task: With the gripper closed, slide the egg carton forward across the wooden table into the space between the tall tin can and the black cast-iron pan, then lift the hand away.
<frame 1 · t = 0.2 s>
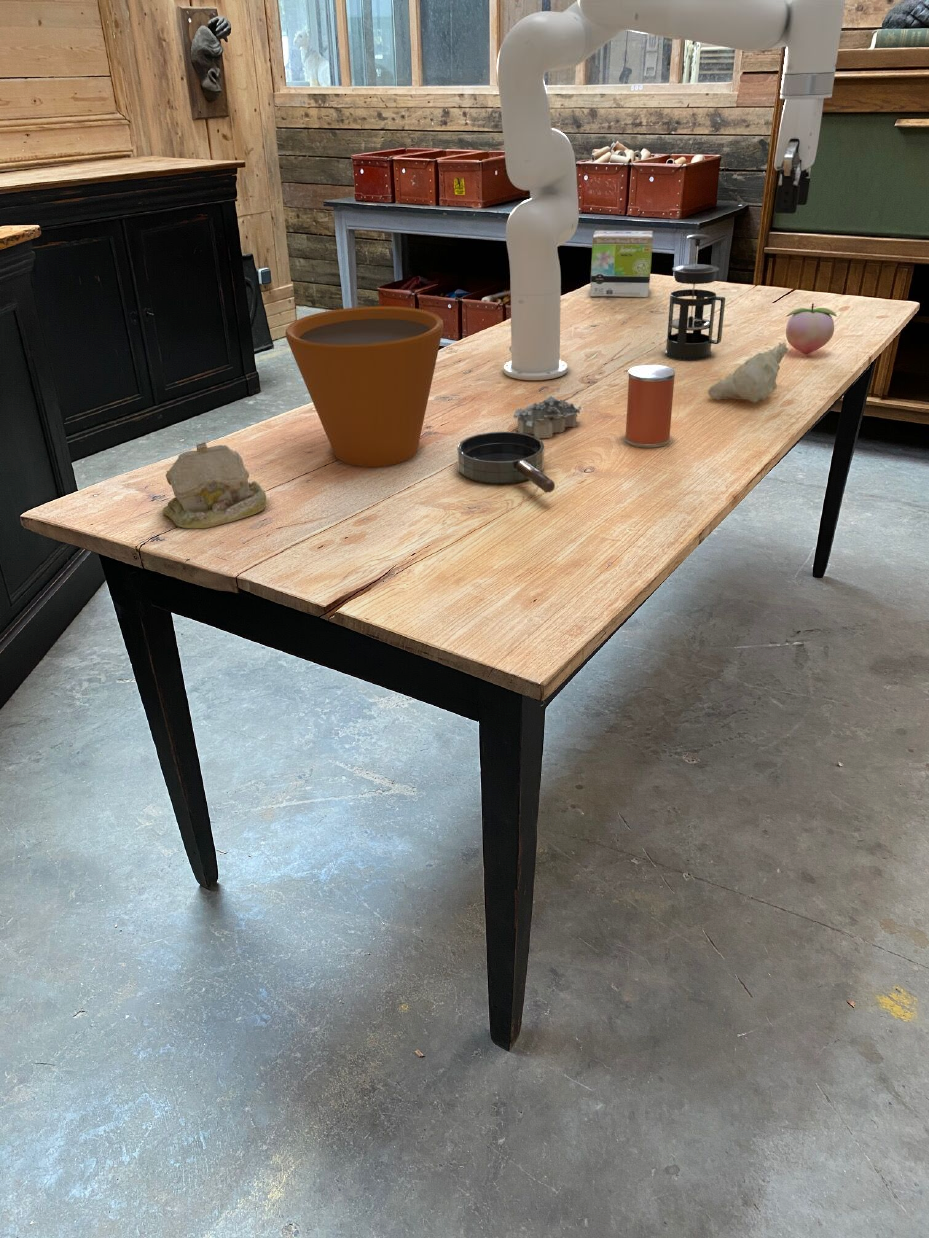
hand: (791, 208, 152), 31 cm above the table, tool pointing down, fingers open, 9 cm apart
holed limestone rock: (750, 396, 169), on the table
tin can: (647, 440, 151), on the table
ceramic model: (215, 511, 134), on the table
decorative fruit: (804, 354, 190), on the table
egg carton: (546, 429, 158), on the table
french press: (690, 355, 193), on the table
tea box: (619, 294, 244), on the table
flower pot: (375, 451, 152), on the table
black pan: (501, 468, 143), on the table
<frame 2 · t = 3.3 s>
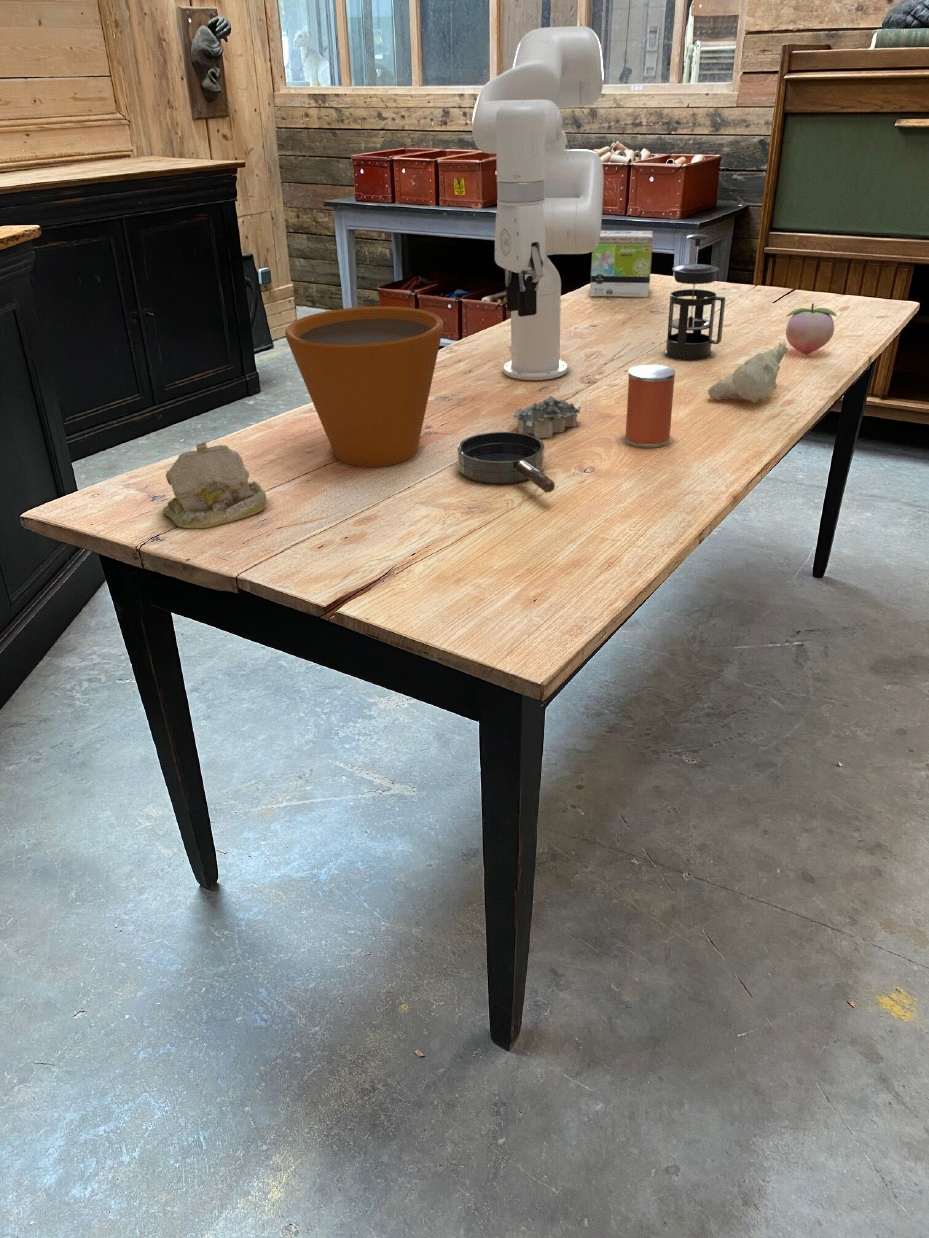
hand: (521, 311, 157), 17 cm above the table, tool pointing down, fingers open, 3 cm apart
nothing on the table moved.
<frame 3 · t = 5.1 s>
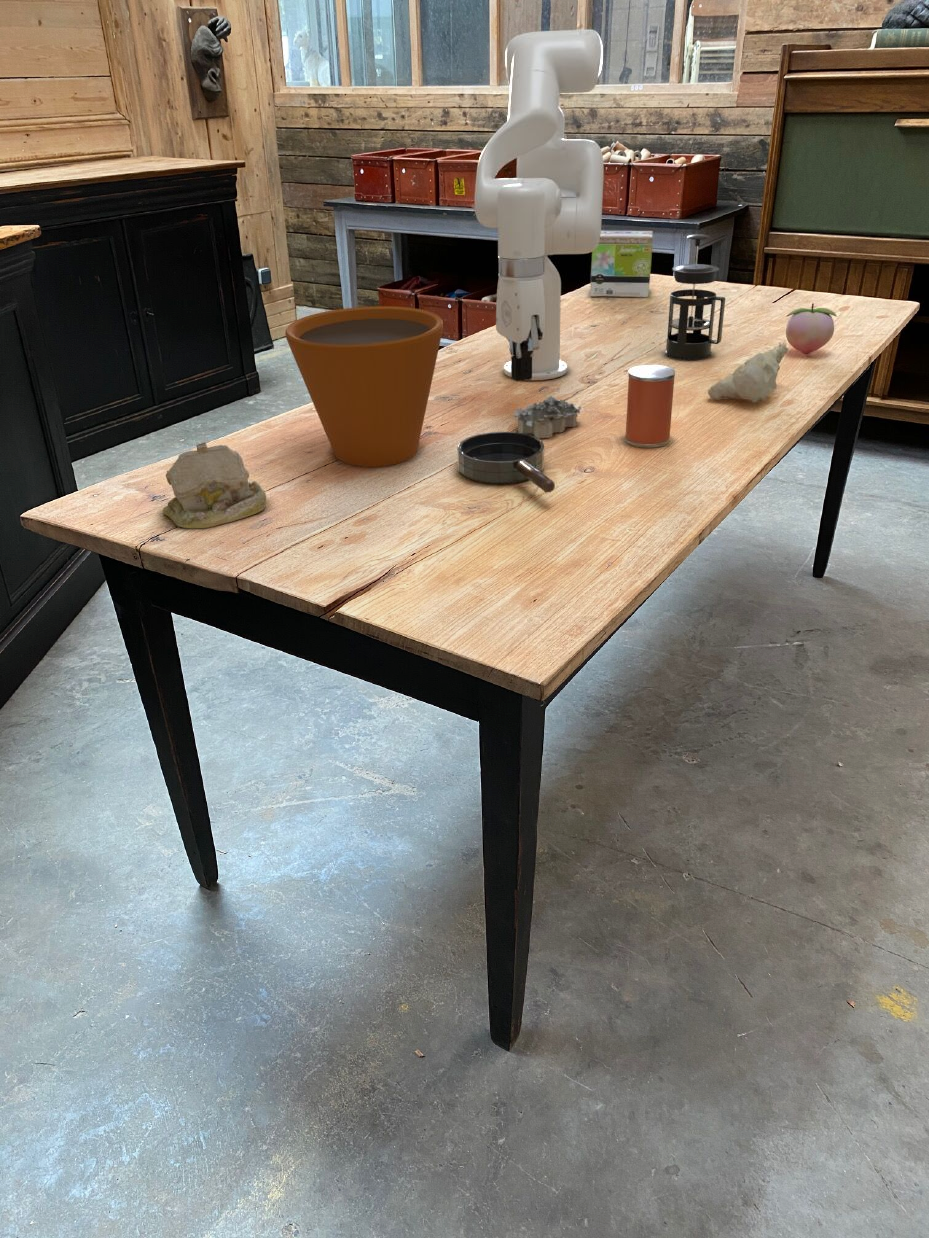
hand: (521, 379, 162), 6 cm above the table, tool pointing down, fingers closed
nothing on the table moved.
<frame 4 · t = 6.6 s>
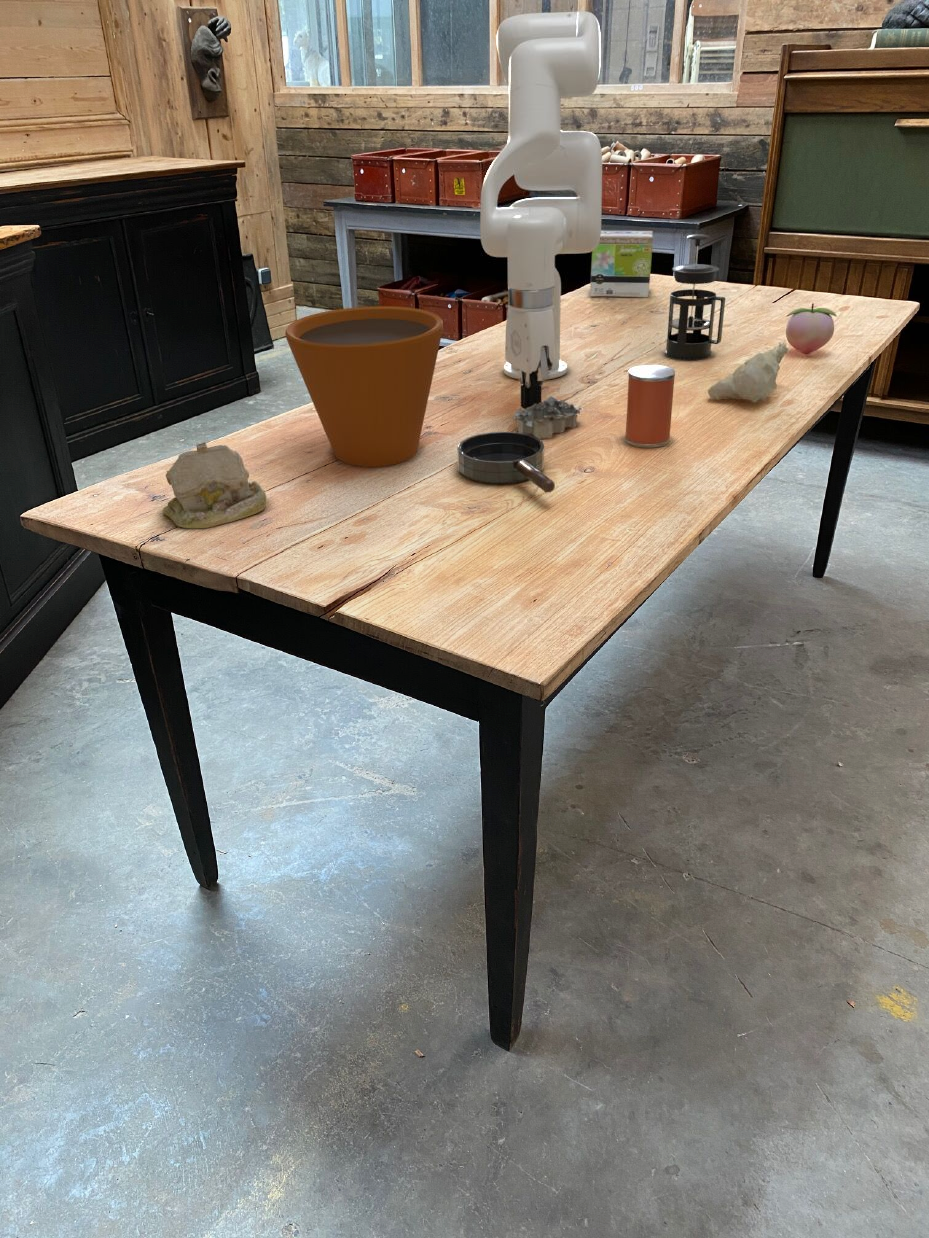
hand: (531, 407, 162), 2 cm above the table, tool pointing down, fingers closed
egg carton: (546, 429, 158), on the table, touching gripper
everything else where it was.
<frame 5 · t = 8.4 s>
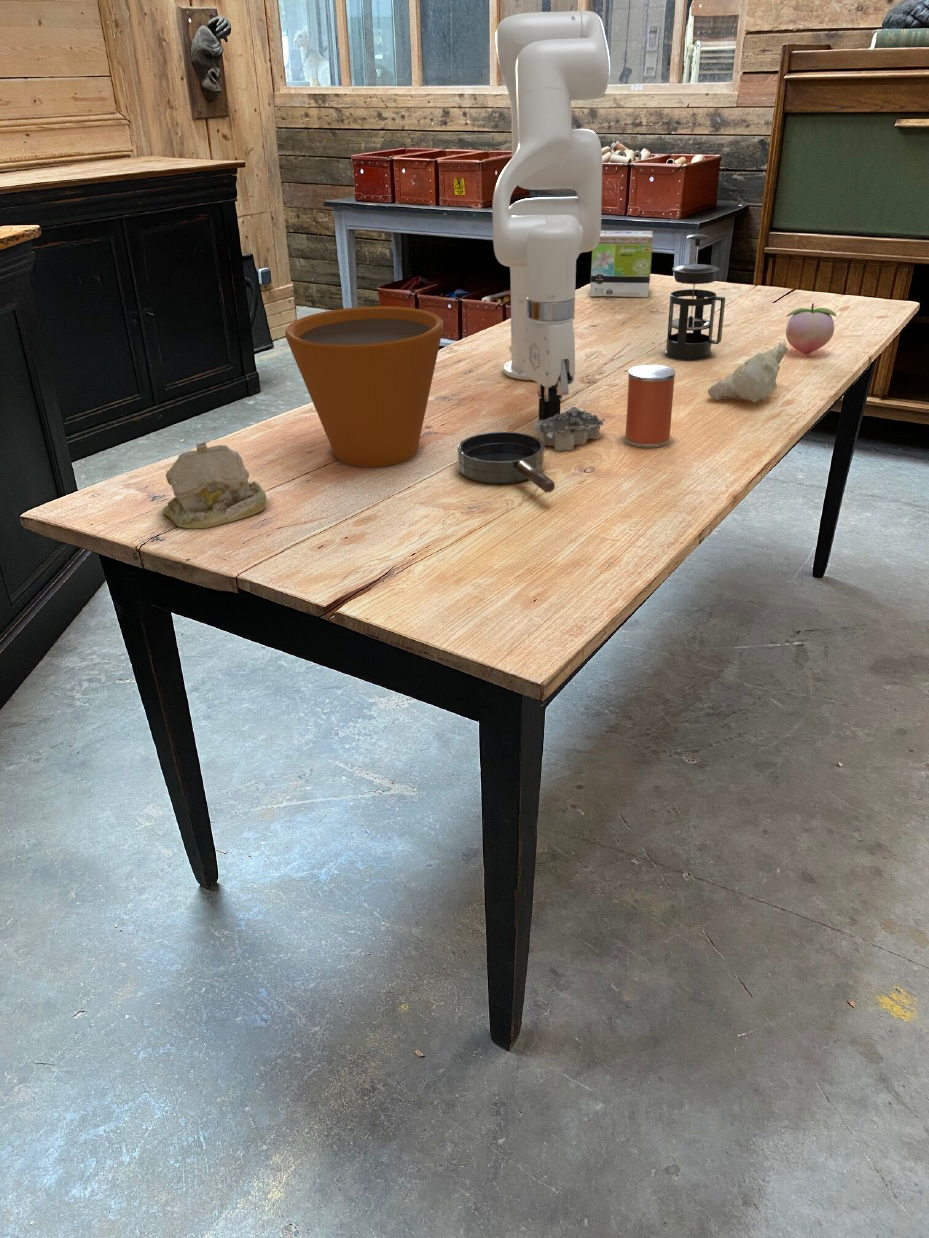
hand: (549, 421, 157), 1 cm above the table, tool pointing down, fingers closed
egg carton: (568, 440, 153), on the table, touching gripper
everything else where it was.
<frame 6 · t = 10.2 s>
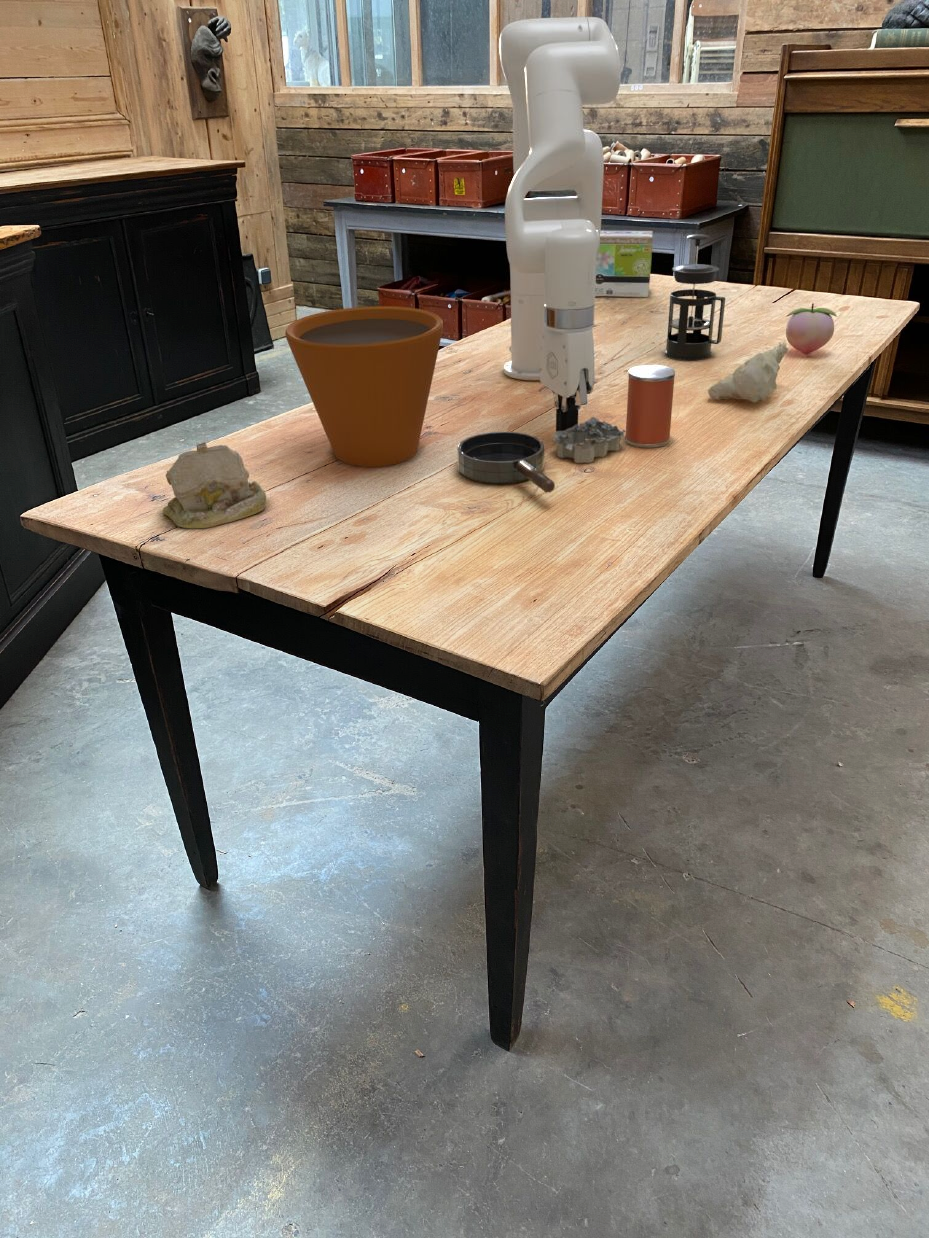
hand: (566, 432, 152), 1 cm above the table, tool pointing down, fingers closed
egg carton: (587, 452, 148), on the table, touching gripper
everything else where it was.
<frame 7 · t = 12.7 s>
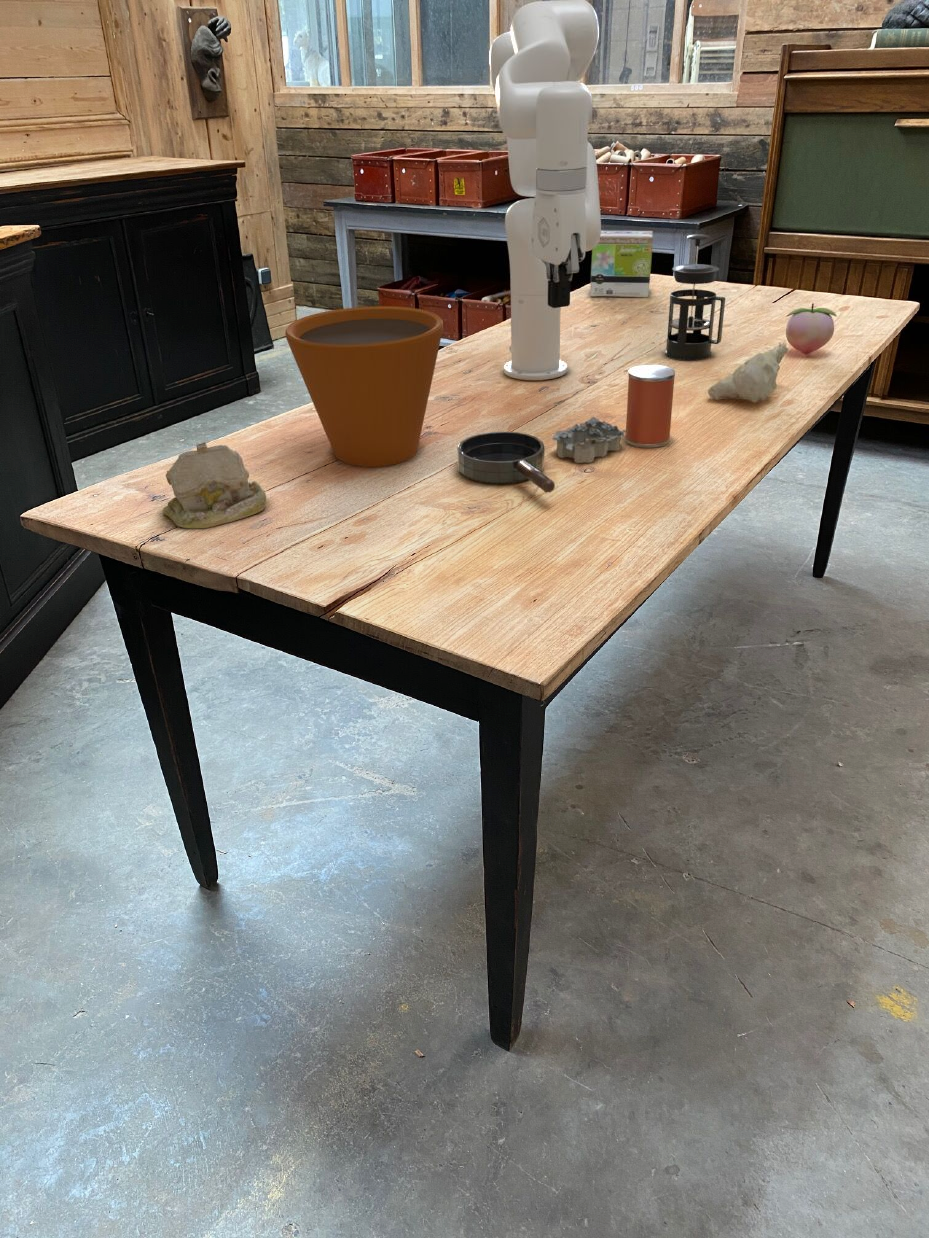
hand: (558, 305, 150), 19 cm above the table, tool pointing down, fingers closed
egg carton: (587, 452, 148), on the table
everything else where it was.
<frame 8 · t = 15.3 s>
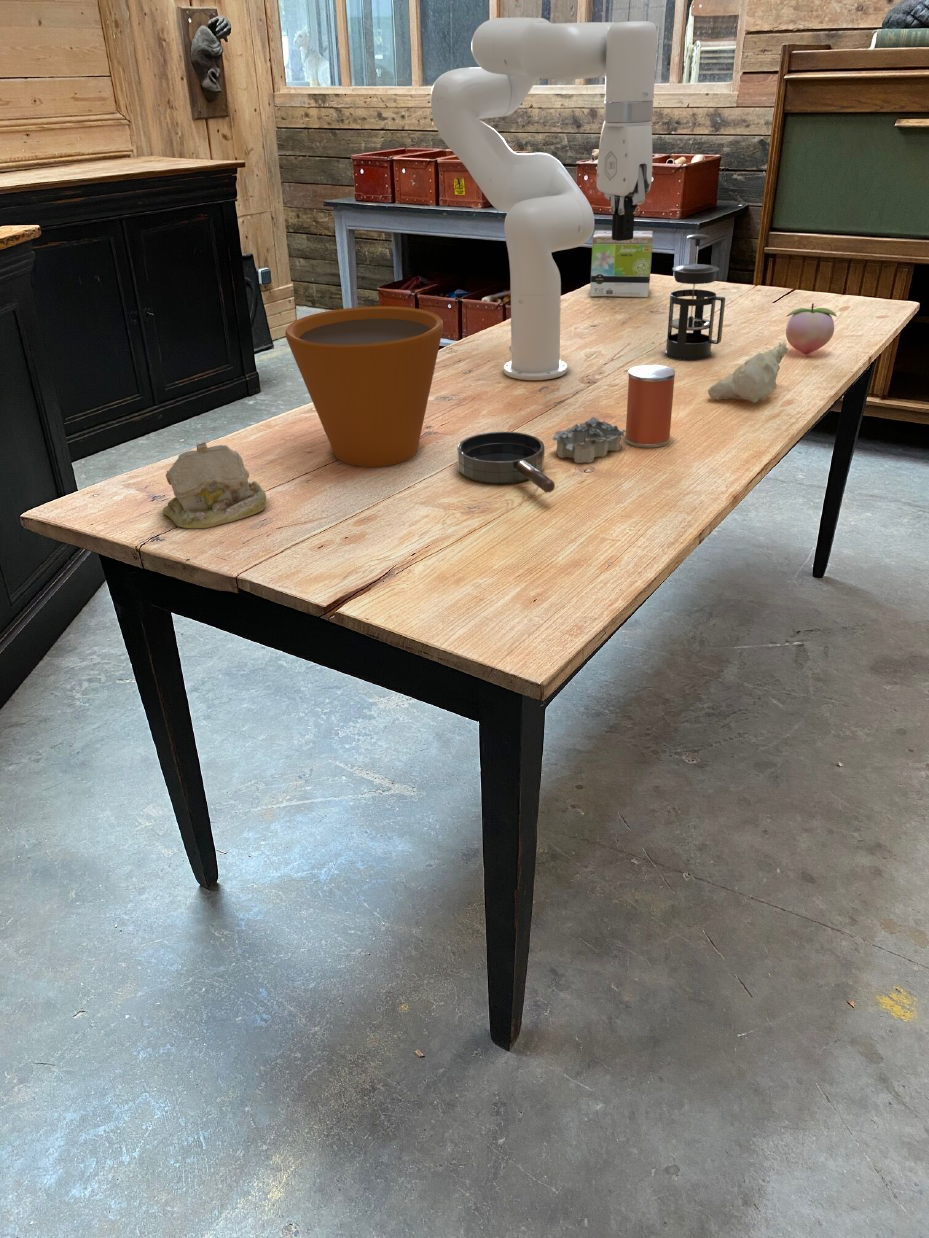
hand: (622, 239, 156), 27 cm above the table, tool pointing down, fingers closed
nothing on the table moved.
at the end: egg carton inside the target area (1.1 cm from its centre), on the table; egg carton tilted 2° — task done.
